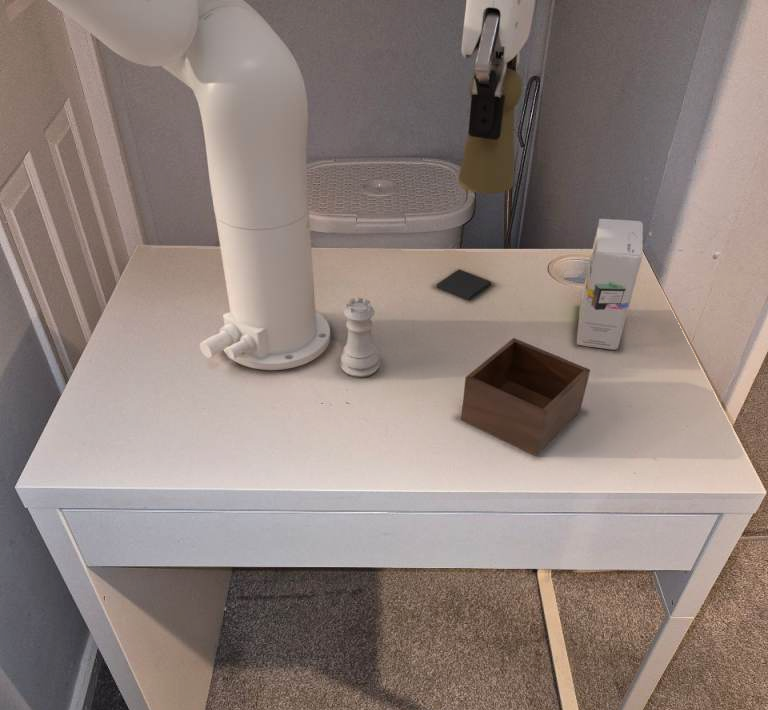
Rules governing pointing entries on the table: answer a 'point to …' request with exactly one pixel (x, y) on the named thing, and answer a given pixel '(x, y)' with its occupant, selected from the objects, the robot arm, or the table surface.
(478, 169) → the olive yellow pawn
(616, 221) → the ink box
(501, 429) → the walnut box
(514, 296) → the table surface
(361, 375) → the rook chess piece
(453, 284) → the rubber pad
